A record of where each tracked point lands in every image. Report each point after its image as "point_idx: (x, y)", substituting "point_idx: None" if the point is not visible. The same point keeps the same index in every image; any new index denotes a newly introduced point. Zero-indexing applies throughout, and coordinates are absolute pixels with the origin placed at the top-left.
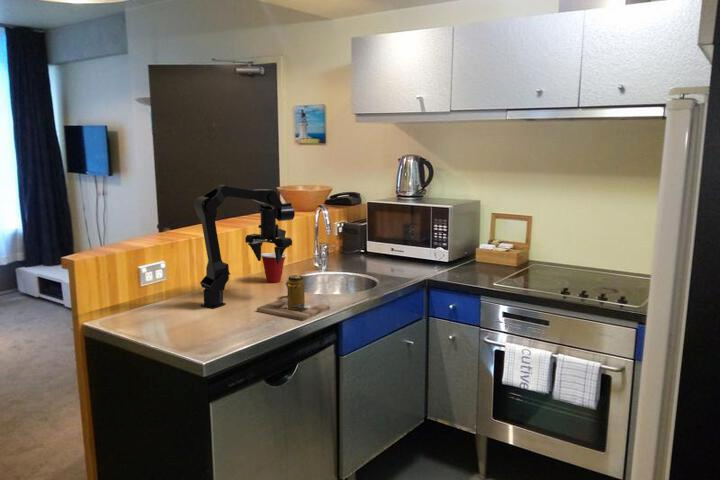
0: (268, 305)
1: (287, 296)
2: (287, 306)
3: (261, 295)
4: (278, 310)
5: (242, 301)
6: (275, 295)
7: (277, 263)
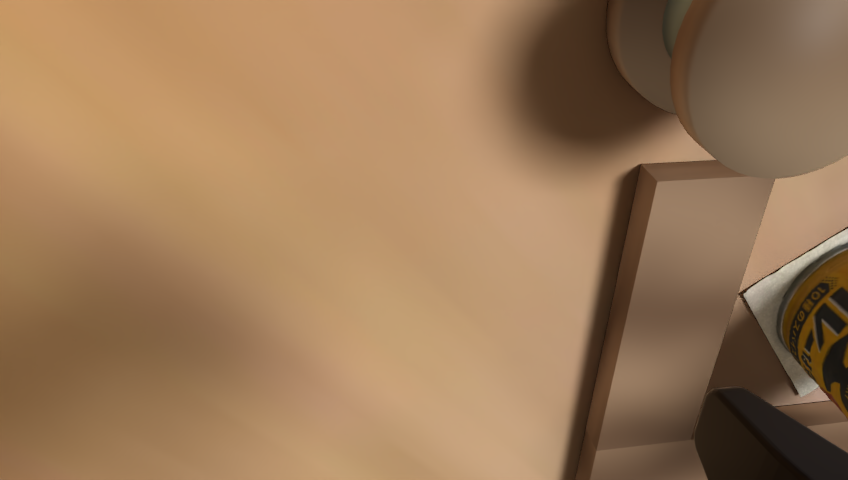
0: (631, 437)
1: (642, 95)
2: (752, 298)
3: (248, 154)
4: None
5: (262, 412)
6: (405, 49)
7: (715, 454)
